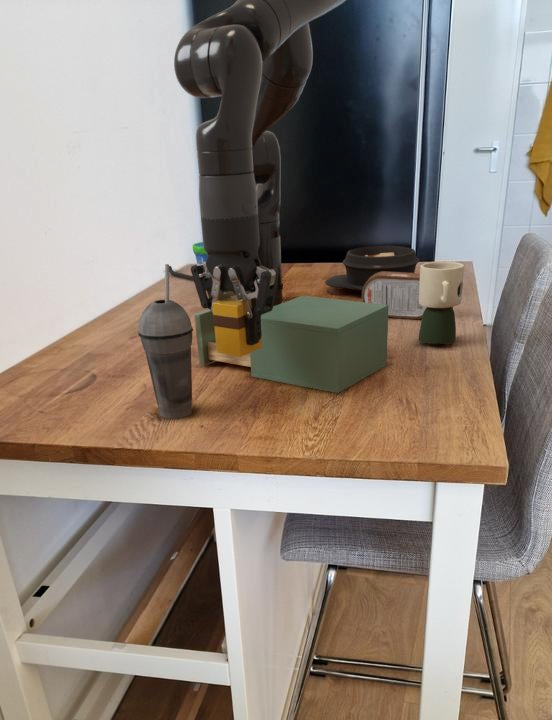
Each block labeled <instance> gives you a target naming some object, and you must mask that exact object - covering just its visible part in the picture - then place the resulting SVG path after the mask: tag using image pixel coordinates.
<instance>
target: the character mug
mask: <svg viewBox="0 0 552 720" xmlns="http://www.w3.org/2000/svg"><path fill="white" fill-rule="evenodd" d="M419 273H420V283H419V304H420V305H422V306H424V307H427V308H426V309H425V310H424V312H423V316H422V319H421V321H420V326H419V333H418V341H419V343H420V342H421V343H424V344H436V346H439V347H440V346H441V344H443V345H450V344H453V343H455V342H456V341H457V327H456V325H457V324H456V313H455V310H454V307H456V306H459V305H460V304H461V303H462V299H463V287H464V276H465V275H464V273H465V264H464V263H462V262H458V261H457V262H456V261H431V262H425V263H422V264H420V269H419Z"/></svg>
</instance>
